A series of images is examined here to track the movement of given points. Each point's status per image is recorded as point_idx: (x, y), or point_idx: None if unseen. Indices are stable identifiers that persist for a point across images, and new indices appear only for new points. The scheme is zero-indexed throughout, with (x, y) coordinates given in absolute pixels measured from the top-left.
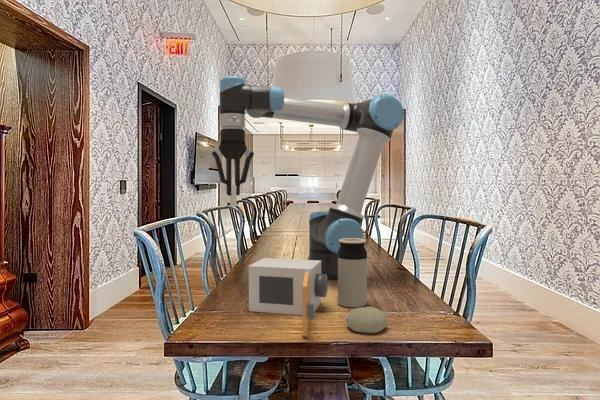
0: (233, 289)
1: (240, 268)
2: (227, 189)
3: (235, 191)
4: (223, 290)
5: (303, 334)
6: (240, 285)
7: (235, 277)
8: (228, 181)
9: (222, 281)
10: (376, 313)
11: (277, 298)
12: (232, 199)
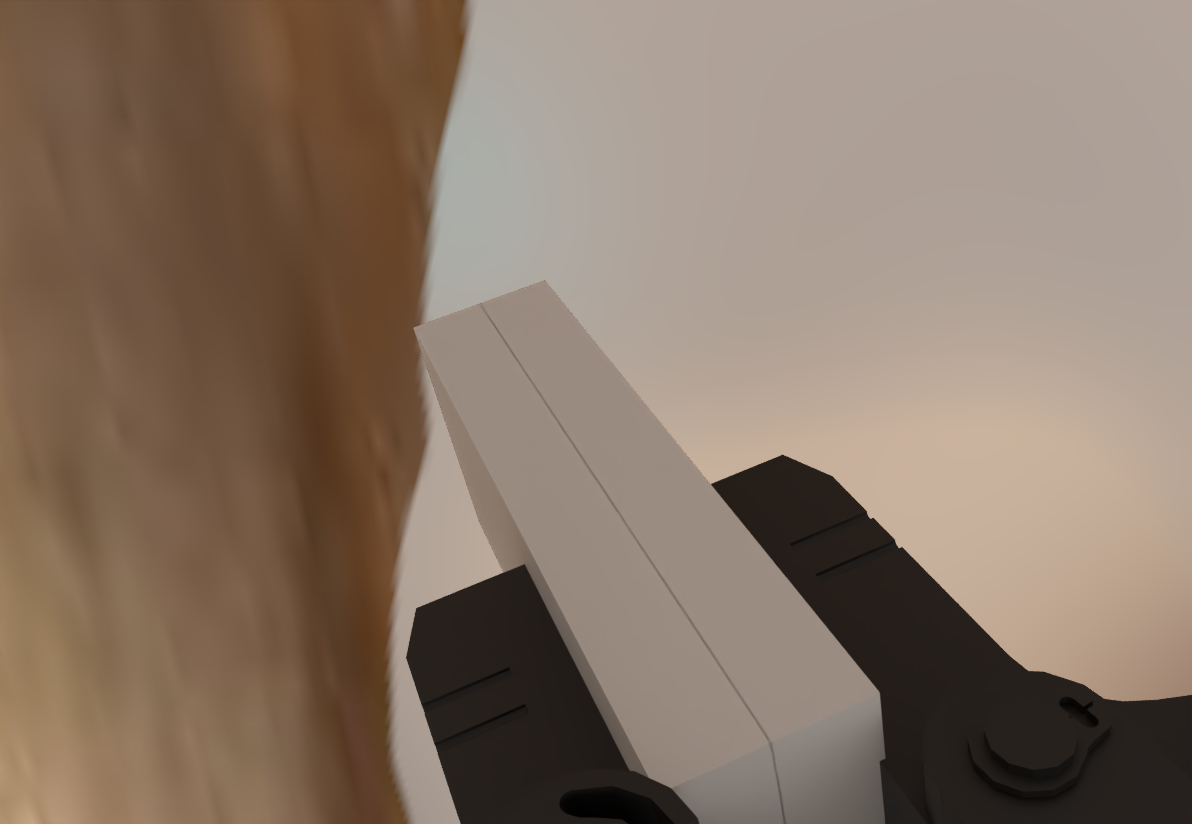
0: (278, 67)
1: (356, 791)
2: (921, 569)
3: (589, 584)
4: (373, 29)
5: None
6: (237, 226)
7: (344, 507)
8: (1136, 786)
9: None
10: None
11: None
12: (592, 382)
